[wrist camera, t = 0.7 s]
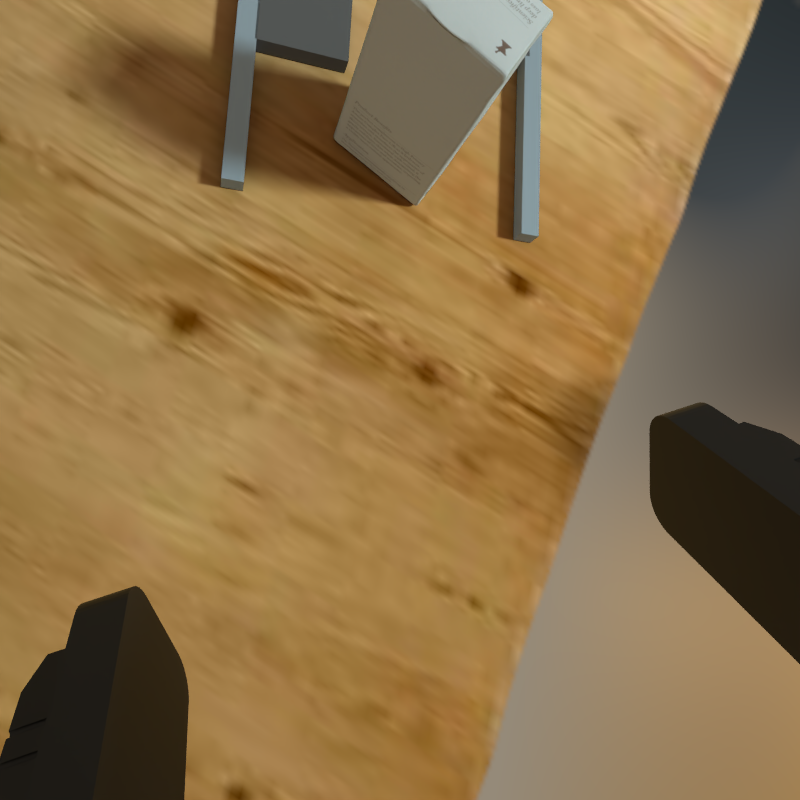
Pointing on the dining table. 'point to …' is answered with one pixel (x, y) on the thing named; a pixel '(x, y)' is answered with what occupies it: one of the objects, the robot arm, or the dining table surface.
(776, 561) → the robot arm
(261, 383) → the dining table surface
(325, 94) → the dining table surface
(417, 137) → the skincare box
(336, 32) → the grey square block
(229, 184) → the lane rails
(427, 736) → the dining table surface
